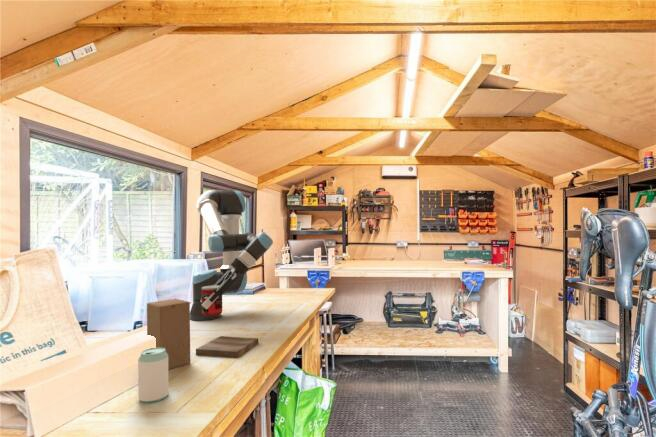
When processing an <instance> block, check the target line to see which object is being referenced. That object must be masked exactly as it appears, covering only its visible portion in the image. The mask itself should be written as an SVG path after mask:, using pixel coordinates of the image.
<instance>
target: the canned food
mask: <svg viewBox="0 0 656 437" xmlns="http://www.w3.org/2000/svg"><path fill="white" fill-rule="evenodd" d="M219 286H220V285H211V286H204V287H202V304H203V303H204V302H205V301H206V299H207V298H208V297H209V296H210V295H211V294H212V293H213V291H214V290H215V291H216V290H217V288H218V287H219ZM222 313H223V295H222V296H219V297H218V298H217V299H216V300H215V301H214V302H213V303H212V304H211V306H210V307H209V308H208V309H205V308H204V307H203V306H202V314H203V315H205V316H214V315H219V314H221V315H222Z"/></svg>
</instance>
